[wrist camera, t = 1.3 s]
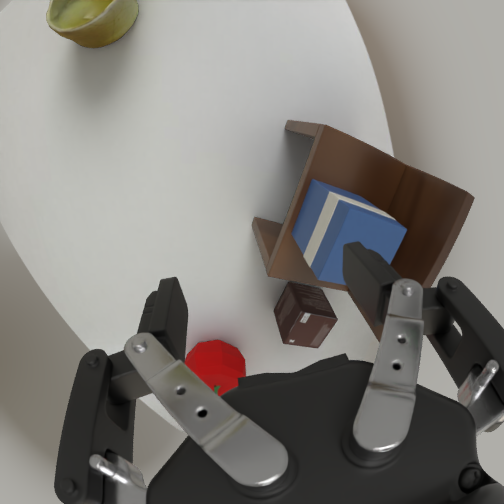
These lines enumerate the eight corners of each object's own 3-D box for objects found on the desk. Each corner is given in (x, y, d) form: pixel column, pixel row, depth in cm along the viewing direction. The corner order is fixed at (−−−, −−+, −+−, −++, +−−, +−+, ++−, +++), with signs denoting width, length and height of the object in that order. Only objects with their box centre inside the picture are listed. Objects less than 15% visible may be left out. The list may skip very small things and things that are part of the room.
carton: (290, 234, 23) (316, 280, 17) (311, 177, 21) (349, 206, 15) (340, 247, 25) (375, 291, 18) (362, 196, 22) (408, 228, 16)
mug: (97, 75, 22) (54, 32, 12) (65, 42, 21) (29, 6, 11) (181, 11, 22) (168, -45, 12) (139, -14, 20) (120, -60, 11)
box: (305, 317, 44) (318, 349, 38) (272, 310, 43) (281, 344, 36) (322, 288, 42) (339, 319, 36) (288, 279, 40) (301, 311, 34)
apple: (235, 373, 49) (240, 417, 41) (179, 365, 47) (177, 411, 38) (252, 335, 45) (260, 383, 36) (188, 326, 42) (185, 375, 34)
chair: (251, 225, 36) (287, 340, 18) (287, 119, 30) (380, 134, 12) (319, 242, 38) (390, 346, 21) (357, 148, 32) (475, 197, 15)
